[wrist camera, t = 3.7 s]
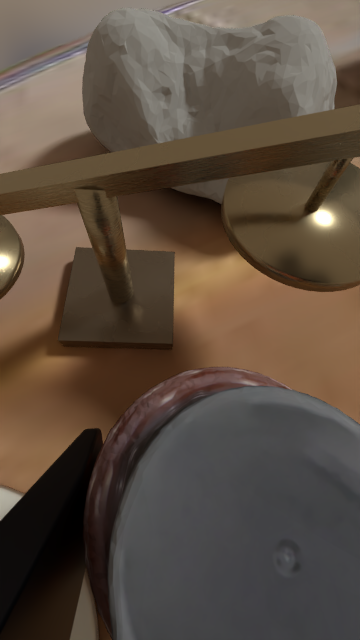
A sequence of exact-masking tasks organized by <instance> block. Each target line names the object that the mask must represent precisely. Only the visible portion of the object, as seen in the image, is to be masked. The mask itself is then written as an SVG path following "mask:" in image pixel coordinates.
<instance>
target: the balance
mask: <svg viewBox="0 0 360 640" xmlns="http://www.w3.org/2000/svg"><path fill="white" fill-rule="evenodd" d="M354 157H360V104H359V105H354V106H348V107H343V108H338V109H333V110H328V111H323V112H317V113H312V114H307V115H302V116H297V117H292V118H287V119H281V120H276V121H271V122H266V123H261V124H256V125H250V126H245V127H240V128H235V129H230V130H225V131H220V132H214V133H209V134H204V135H199V136H194V137H189V138H183V139H178V140H173V141H168V142H163V143H158V144H153V145H147V146H142V147H137V148H132V149H127V150H122V151H116V152H111V153H106V154H101V155H96V156H91V157H86V158H80V159H75V160H70V161H65V162H60V163H55V164H49V165H44V166H39V167H34V168H29V169H24V170H19V171H13V172H8V173H3V174H0V299H1V298H2V297H3V296H5V295H6V294H7V292H8V291H9V290H10V289H11V288H12V287H13V285H14V284H15V282H16V281H17V279H18V277H19V275H20V273H21V270H22V267H23V263H24V246H23V243H22V240H21V238H20V236H19V234H18V233H17V231H16V230H15V228H14V227H13V226H12V224H11V223H10V222H9V221H8V220H7V219H6V218H5V217H4V216H2V215H5V214H11V213H17V212H23V211H29V210H35V209H41V208H48V207H54V206H60V205H66V204H72V203H77V204H78V207H79V210H80V213H81V216H82V219H83V222H84V224H85V227H86V230H87V233H88V236H89V239H90V242H91V245H92V248H81V247H76V250H75V255H74V260H73V265H72V271H71V276H70V281H69V286H68V291H67V296H66V301H65V306H64V311H63V316H62V321H61V327H60V332H59V337H58V341H59V342H60V343H61V344H62V345H63V346H66V347H102V348H139V349H172V346H173V306H174V255H175V252H166V251H144V250H126V245H125V239H124V234H123V228H122V222H121V216H120V211H119V205H118V199H117V196H121V195H127V194H134V193H140V192H146V191H152V190H158V189H164V188H170V187H176V186H183V185H189V184H195V183H201V182H207V181H213V180H219V179H226V178H229V179H228V181H227V184H226V187H225V191H224V195H223V199H222V204H221V216H222V223H223V226H224V229H225V232H226V234H227V236H228V238H229V240H230V242H231V243H232V245H233V246H234V248H235V249H236V250H237V251H238V253H239V254H240V255H241V256H242V257H243V258H244V259H245V260H246V261H247V262H248V263H249V264H251V265H252V266H253V267H254V268H256V269H257V270H258V271H260V272H261V273H263V274H265V275H266V276H268V277H270V278H272V279H274V280H276V281H278V282H280V283H283V284H285V285H288V286H291V287H294V288H298V289H303V290H308V291H317V292H334V291H341V290H346V289H349V288H353V287H355V286H358V285H360V169H359V168H358V167H356V166H355V165H353V164H351V163H350V162H351V161H352V159H353V158H354Z"/></svg>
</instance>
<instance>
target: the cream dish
mask: <svg viewBox="0 0 360 640" xmlns="http://www.w3.org/2000/svg"><path fill="white" fill-rule="evenodd" d="M24 495H25V493H22V492H20V491H18V490H15V489H13V488H10V487H8V486H4V485H0V521H1V519H2V518H3V517H4V516H5V515H6V514H7V513H8V512H9V511H10V510H11V509H12V508H13V506H14V505H15V504H16V503H17V502H18V501H19V500H20V499H21V498H22V497H23V496H24ZM70 640H99V632H98V618H97V612H96V606H95V600H94V595H93V593H92V589H91V585H90V580H89V576H88V572H87V569H85V574H84V578H83V583H82V587H81V592H80V596H79V601H78V605H77V610H76V614H75V619H74V623H73V627H72V632H71V636H70Z"/></svg>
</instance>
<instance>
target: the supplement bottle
mask: <svg viewBox="0 0 360 640" xmlns="http://www.w3.org/2000/svg"><path fill="white" fill-rule="evenodd" d="M83 542H84V551H85V563H86V568H87V571H88V574H89V579H90V585H91V589H92V593H93V595H94V598H95V601H96V604H97V608H98V613H99V614H100V616H101V618H102V619H103V621H104V624H105V626H106V629H107V631H108V633H109V634H110V636H111V638H112V640H360V424H358V423H357V422H356V421H355V420H353V419H352V418H350V417H349V416H347V415H346V414H344V413H343V412H341V411H340V410H339V409H337V408H335V407H332V406H331V405H329V404H327V403H325V402H324V401H322V400H319V399H317V398H315V397H312V396H310V395H308V394H304V393H301V392H297V391H295V390H292V389H291V388H289V387H287V386H286V385H285V384H283V383H280V382H278V381H276V380H274V379H272V378H270V377H268V376H264V375H262V374H260V373H256V372H252V371H249V370H244V369H238V368H231V367H209V368H200V369H194V370H189V371H185V372H182V373H180V374H177V375H175V376H172V377H170V378H168V379H167V380H164V381H163V382H161V383H159V384H157V385H156V386H154V387H152V388H150V389H149V390H148V391H147V392H146V393H144V394H142V396H141V397H140V398H138V399H137V400H136V401H135V402H134V403H133V404H132V405H131V406H130V407H129V408H128V409H127V410H126V411H125V412H124V414H123V415H122V416H121V417H120V419H119V420H118V421H117V422H116V424H115V425H114V426H113V428H111V429H110V431H109V434H108V436H107V438H106V440H105V442H104V444H103V446H102V448H101V450H100V452H99V454H98V456H97V459H96V462H95V465H94V468H93V471H92V474H91V478H90V482H89V486H88V490H87V494H86V502H85V508H84V517H83Z"/></svg>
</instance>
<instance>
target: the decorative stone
mask: <svg viewBox="0 0 360 640" xmlns="http://www.w3.org/2000/svg"><path fill="white" fill-rule="evenodd" d="M336 87H337V78H336V69H335V66H334V63H333V61H332V58H331V54H330V51H329V49H328V46H327V42H326V39H325V37H324V34H323V32H322V30H321V28H320V27H319V26H318V25H317V24H316V23H315V22H314V21H311V20H309V19H307V18H304V17H300V16H295V15H289V16H277V17H275V18H272V19H270V20H268V21H267V22H265V23H262V24H258V25H255V26H252V27H246V28H220V27H219V28H212V27H209V26H206V25H202V24H197V23H193V22H190V21H186V20H184V19H180V18H173V17H169V16H167V15H165V14H163V13H160V12H157V11H154V10H148V9H133V8H121V9H117V10H114V11H112V12H110V13H109V14H108V15H106V16H105V17H104V18H103V19H102V20H101V22H100V23H99V25H98V26H97V27H96V29H95V30H94V32H93V34H92V36H91V39H90V41H89V43H88V47H87V53H86V62H85V65H84V74H83V86H82V94H83V109H84V116H85V119H86V122H87V124H88V126H89V128H90V130H91V131H92V133H93V134H94V135H95V137H96V138H97V139H98V140H99V141H100V143H101V144H102V145H104V146H105V147H106V148H107V149H108V150H109V151H111V152H116V151H122V150H127V149H132V148H137V147H142V146H147V145H153V144H158V143H163V142H168V141H173V140H178V139H183V138H189V137H194V136H199V135H204V134H209V133H214V132H220V131H225V130H230V129H235V128H240V127H245V126H250V125H256V124H261V123H266V122H271V121H276V120H281V119H287V118H292V117H297V116H302V115H307V114H312V113H317V112H323V111H328V110H333V109H334V107H335V106H334V97H335V93H336ZM228 179H229V178H226V179H219V180H213V181H207V182H201V183H195V184H189V185H183V186H176V187H171V188H173V189H175V190H177V191H181V192H184V193H187V194H193V195H196V196H200V197H206V198H209V199H212V200H214V201H215V202H218V203H220V204H222V199H223V195H224V191H225V187H226V184H227V181H228Z"/></svg>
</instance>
